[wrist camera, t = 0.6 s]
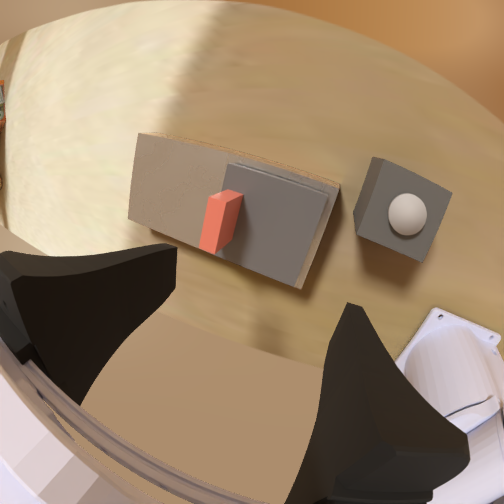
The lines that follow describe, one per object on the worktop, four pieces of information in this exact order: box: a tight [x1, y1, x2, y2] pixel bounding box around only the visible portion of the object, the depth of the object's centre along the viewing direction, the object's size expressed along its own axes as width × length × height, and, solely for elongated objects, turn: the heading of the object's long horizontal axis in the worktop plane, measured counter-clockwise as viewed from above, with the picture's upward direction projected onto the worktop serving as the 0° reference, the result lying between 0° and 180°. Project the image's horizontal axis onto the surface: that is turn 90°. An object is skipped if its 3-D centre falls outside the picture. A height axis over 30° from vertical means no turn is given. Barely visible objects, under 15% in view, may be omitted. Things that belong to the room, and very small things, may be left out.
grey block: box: [353, 157, 452, 263], centre depth 14 cm, size 4×4×5 cm
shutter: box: [199, 163, 328, 287], centre depth 15 cm, size 6×6×3 cm
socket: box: [128, 133, 340, 289], centre depth 18 cm, size 14×7×2 cm, turn 75°
